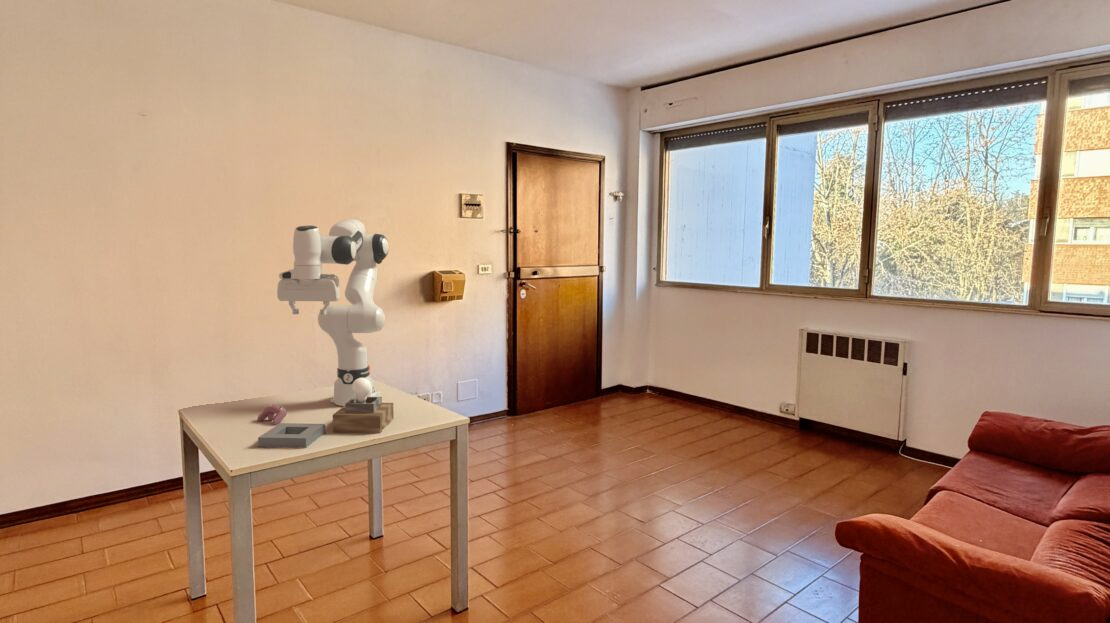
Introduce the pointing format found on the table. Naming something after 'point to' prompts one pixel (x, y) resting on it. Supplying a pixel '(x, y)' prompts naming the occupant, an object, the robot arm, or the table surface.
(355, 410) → the raised socket stand
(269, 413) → the video game controller
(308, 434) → the low socket block
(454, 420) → the table surface
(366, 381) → the lightbulb
